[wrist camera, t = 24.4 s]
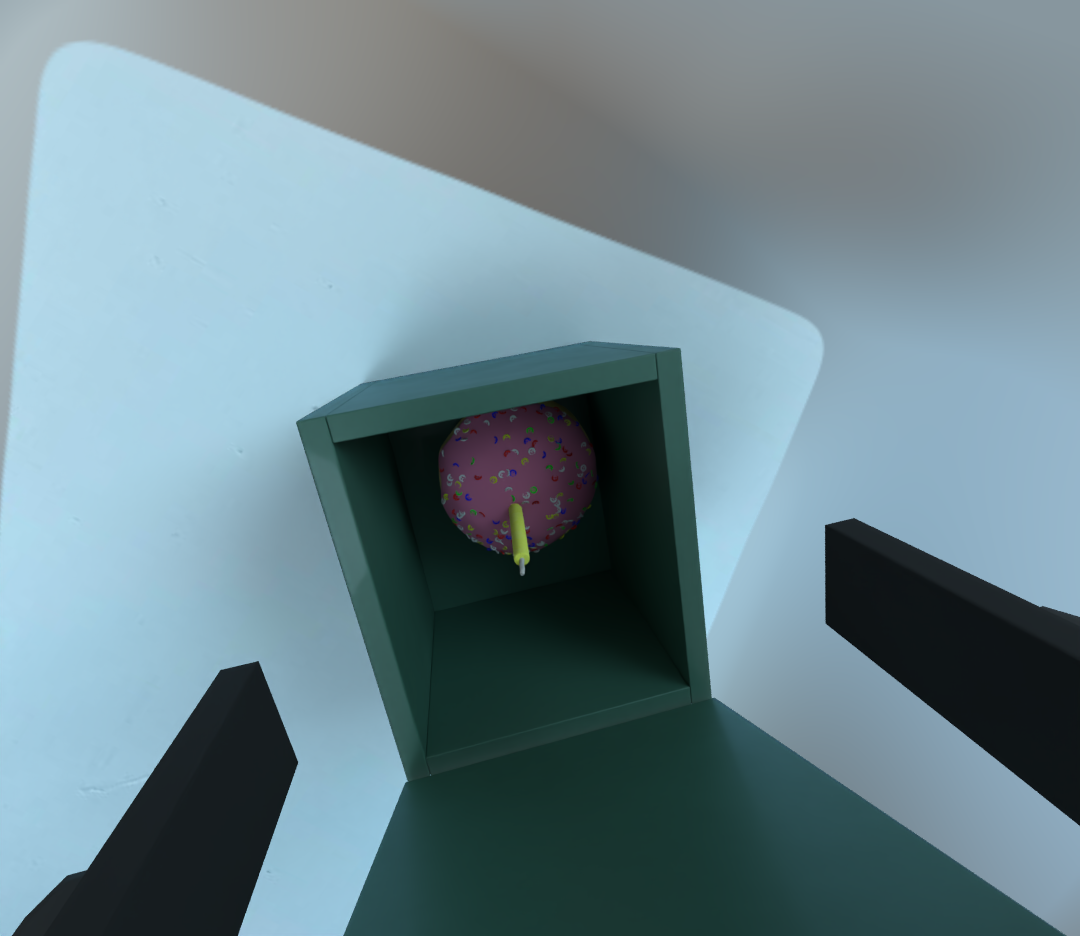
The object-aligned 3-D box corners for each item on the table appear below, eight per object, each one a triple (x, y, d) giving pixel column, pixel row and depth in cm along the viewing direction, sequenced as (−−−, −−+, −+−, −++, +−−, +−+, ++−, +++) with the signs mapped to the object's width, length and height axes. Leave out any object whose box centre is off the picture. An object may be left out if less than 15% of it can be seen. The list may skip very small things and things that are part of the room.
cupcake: (548, 536, 33) (598, 645, 22) (420, 499, 31) (400, 597, 20) (596, 412, 32) (678, 458, 20) (464, 364, 30) (472, 386, 18)
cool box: (360, 383, 30) (294, 421, 17) (590, 341, 31) (681, 347, 19) (423, 619, 34) (407, 782, 22) (622, 572, 36) (712, 699, 24)
